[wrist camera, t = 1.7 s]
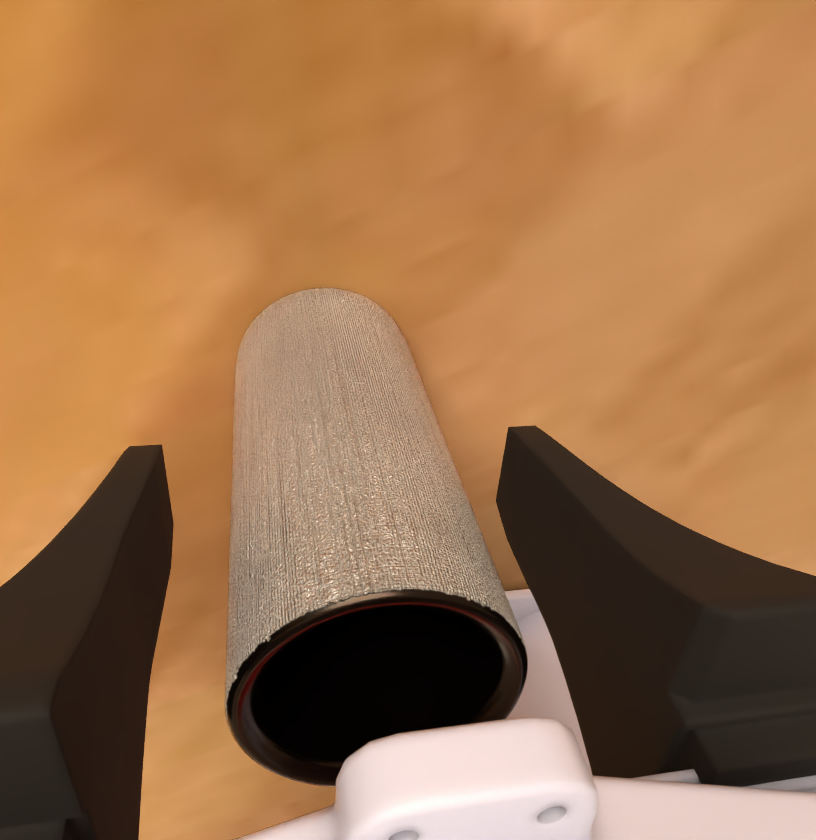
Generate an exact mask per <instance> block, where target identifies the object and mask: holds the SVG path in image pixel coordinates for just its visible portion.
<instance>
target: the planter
mask: <svg viewBox="0 0 816 840" xmlns="http://www.w3.org/2000/svg"><path fill="white" fill-rule="evenodd" d="M527 671H528V656H527V650H526V646H525V643H524V640H523V637H522V634H521V632H520V629H519V626H518V624H517V621H516V619H515V616H514V614H513V611H512V608H511V606H510V603H509V601H508V598H507V596H506V593H505V591H504V588H503V586H502V583H501V581H500V578H499V575H498V573H497V570H496V568H495V565H494V563H493V560H492V558H491V555H490V553H489V550H488V548H487V545H486V542H485V540H484V537H483V535H482V532H481V530H480V527H479V525H478V522H477V520H476V517H475V515H474V512H473V509H472V507H471V504H470V502H469V499H468V497H467V494H466V492H465V489H464V487H463V484H462V482H461V479H460V477H459V474H458V471H457V469H456V466H455V464H454V461H453V459H452V456H451V454H450V451H449V449H448V446H447V444H446V441H445V438H444V436H443V433H442V431H441V428H440V426H439V423H438V421H437V418H436V416H435V413H434V411H433V408H432V405H431V403H430V400H429V398H428V395H427V393H426V390H425V388H424V385H423V383H422V380H421V378H420V375H419V373H418V370H417V367H416V365H415V362H414V360H413V357H412V355H411V352H410V350H409V347H408V345H407V342H406V340H405V338H404V336H403V334H402V333H401V331H400V329H399V327H398V325H397V324H396V322H395V321H394V320H393V318H392V317H391V316H390V315H389V314H388V313H387V312H386V311H385V310H384V309H383V308H382V307H381V306H379V305H378V304H376V303H375V302H374V301H372V300H370V299H368V298H366V297H364V296H362V295H360V294H357V293H354V292H351V291H347V290H343V289H336V288H314V289H307V290H303V291H299V292H296V293H293V294H290V295H287V296H285V297H283V298H281V299H279V300H277V301H276V302H274V303H272V304H271V305H270V306H268V307H267V308H266V309H264V310H263V311H262V312H261V313H260V314H259V315H258V316H257V317H256V318H255V319H254V320H253V322H252V323H251V324H250V326H249V327H248V329H247V330H246V332H245V334H244V336H243V338H242V341H241V343H240V347H239V351H238V355H237V362H236V370H235V396H234V427H233V458H232V489H231V520H230V551H229V583H228V614H227V645H226V678H225V714H226V719H227V724H228V726H229V729H230V732H231V734H232V736H233V737H234V739H235V741H236V742H237V744H238V745H239V746H240V748H241V749H242V750H243V751H244V752H245V753H246V754H247V755H248V756H249V757H250V758H251V759H252V760H254V761H255V762H256V763H258V764H259V765H261V766H262V767H264V768H266V769H267V770H269V771H271V772H273V773H275V774H278V775H280V776H283V777H285V778H288V779H291V780H295V781H298V782H302V783H307V784H313V785H319V786H329V787H336V779H337V776H338V774H339V772H340V770H341V768H342V766H343V763H344V761H345V760H346V759H347V758H348V757H349V756H350V755H352V754H353V753H354V752H356V751H357V750H359V749H360V748H362V747H363V746H364V745H366V744H367V743H369V742H370V741H374V740H377V739H380V738H384V737H387V736H391V735H394V734H398V733H405V732H413V731H420V730H428V729H435V728H443V727H450V726H458V725H466V724H473V723H481V722H488V721H496V720H504V719H506V718H507V717H508V716H509V715H510V713H511V712H512V710H513V709H514V707H515V705H516V704H517V702H518V700H519V698H520V696H521V694H522V691H523V688H524V686H525V682H526V678H527Z"/></svg>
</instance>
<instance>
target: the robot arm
mask: <svg viewBox="0 0 816 840" xmlns="http://www.w3.org/2000/svg"><path fill="white" fill-rule="evenodd" d="M496 503H497V506H498V510H499V513H500V517H501V521H502V524H503V527H504V530H505V534H506V537H507V540H508V542H509V544H510V547H511V549H512V551H513V554H514V556H515V558H516V560H517V562H518V565H519V567H520V569H521V571H522V573H523V576H524V578H525V580H526V582H527V584H528V586H529V589H521V590H511V591H505V593H506V596H507V598H508V601H509V603H510V606H511V608H512V611H513V614H514V616H515V619H516V621H517V624H518V626H519V629H520V632H521V634H522V637H523V640H524V643H525V646H526V650H527V656H528V671H527V678H526V682H525V686H524V688H523V691H522V694H521V696H520V698H519V700H518V702H517V704H516V705H515V707H514V709H513V710H512V712H511V713H510V715H509V716H508V717H507V718H506V719H504V720H496V721H488V722H481V723H473V724H466V725H458V726H450V727H443V728H435V729H428V730H420V731H413V732H405V733H398V734H394V735H391V736H387V737H384V738H380V739H377V740H374V741H370V742H369V743H367V744H366V745H364V746H363V747H362V748H360V749H359V750H357V751H356V752H354V753H353V754H352V755H350V756H349V757H348V758H347V759H346V760H345V761H344V763H343V766H342V768H341V770H340V772H339V774H338V776H337V779H336V799H335V803H334V805H332V806H329V807H326V808H323V809H321V810H318V811H315V812H312V813H309V814H306V815H303V816H300V817H297V818H294V819H292V820H289V821H286V822H283V823H280V824H277V825H274V826H271V827H268V828H266V829H263V830H260V831H257V832H254V833H251V834H248V835H245V836H242V837H240V838H237V839H233V840H816V576H813V575H810V574H806V573H803V572H800V571H796V570H793V569H790V568H786V567H783V566H780V565H776V564H773V563H770V562H768V561H765V560H762V559H759V558H757V557H754V556H751V555H749V554H746V553H743V552H741V551H738V550H736V549H733V548H731V547H728V546H726V545H723V544H721V543H719V542H717V541H714V540H712V539H710V538H708V537H706V536H703V535H701V534H699V533H697V532H695V531H693V530H691V529H689V528H687V527H685V526H683V525H681V524H679V523H677V522H675V521H673V520H671V519H670V518H668V517H666V516H664V515H662V514H661V513H659V512H657V511H655V510H653V509H652V508H650V507H648V506H647V505H645V504H643V503H642V502H640V501H638V500H637V499H635V498H634V497H632V496H631V495H629V494H628V493H626V492H625V491H623V490H622V489H620V488H619V487H617V486H616V485H614V484H613V483H611V482H610V481H609V480H607V479H606V478H604V477H603V476H602V475H600V474H599V473H597V472H596V471H595V470H593V469H592V468H591V467H589V466H588V465H587V464H585V463H584V462H583V461H581V460H580V459H579V458H577V457H576V456H575V455H574V454H572V453H571V452H570V451H568V450H567V449H566V448H564V447H563V446H562V445H561V444H559V443H558V442H557V441H555V440H554V439H553V438H552V437H550V436H549V435H548V434H546V433H545V432H543V431H542V430H541V429H539V428H538V427H536V426H520V427H508V433H507V439H506V444H505V450H504V456H503V462H502V468H501V474H500V479H499V485H498V491H497V497H496ZM172 541H173V517H172V510H171V503H170V497H169V490H168V483H167V477H166V470H165V463H164V456H163V450H162V445H147V446H129V447H128V448H127V449H126V450H125V451H124V453H123V454H122V455H121V457H120V458H119V460H118V461H117V462H116V464H115V465H114V467H113V468H112V469H111V471H110V472H109V473H108V475H107V476H106V478H105V479H104V480H103V481H102V483H101V484H100V485H99V487H98V488H97V489H96V491H95V492H94V493H93V494H92V495H91V497H90V498H89V499H88V500H87V502H86V503H85V504H84V505H83V506H82V508H81V509H80V510H79V511H78V512H77V514H76V515H75V516H74V517H73V518H72V519H71V520H70V521H69V523H68V524H67V525H66V526H65V527H64V528H63V529H62V530H61V531H60V532H59V533H58V534H57V535H56V537H55V538H54V539H53V540H52V541H51V542H50V543H49V544H48V545H47V546H46V547H45V548H44V549H43V550H42V551H41V552H40V553H39V554H38V555H37V556H36V557H35V558H34V559H33V560H32V561H30V562H29V563H28V564H27V565H26V566H25V567H24V568H23V569H22V570H20V571H19V572H18V573H17V574H16V575H15V576H14V577H12V578H11V579H10V580H9V581H7V582H6V583H5V584H3V585H2V586H1V587H0V840H138V836H139V819H140V802H141V785H142V770H143V756H144V742H145V728H146V716H147V705H148V693H149V682H150V675H151V669H152V662H153V657H154V652H155V647H156V642H157V637H158V631H159V626H160V621H161V616H162V611H163V606H164V601H165V596H166V590H167V585H168V580H169V575H170V569H171V557H172Z"/></svg>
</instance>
